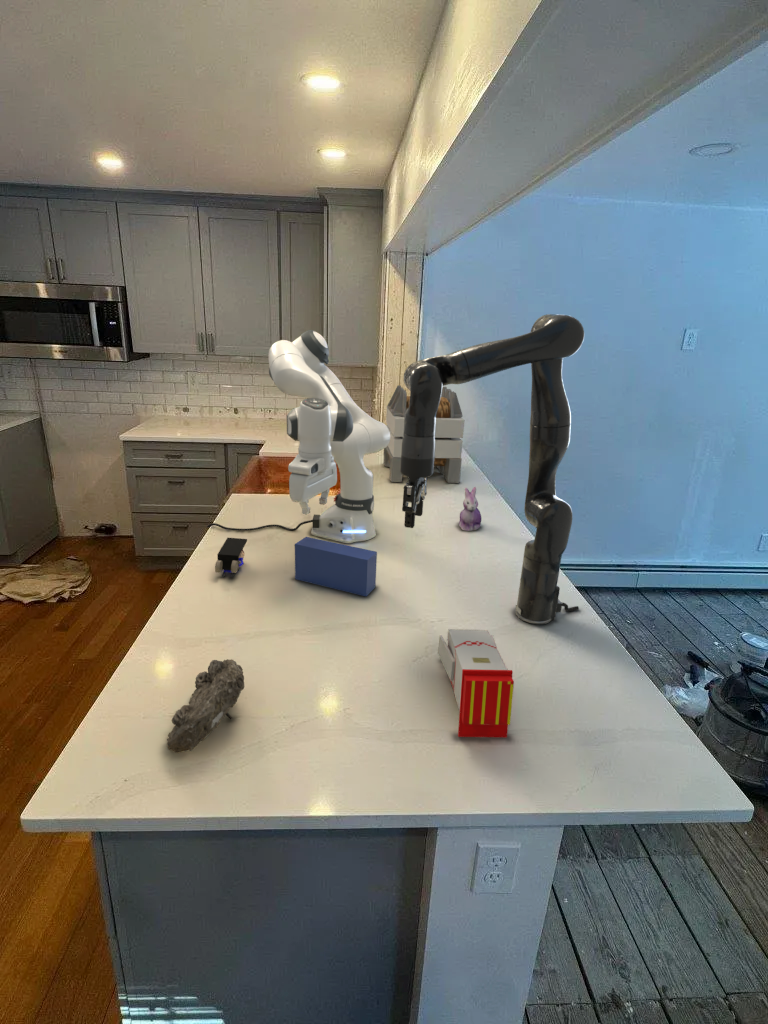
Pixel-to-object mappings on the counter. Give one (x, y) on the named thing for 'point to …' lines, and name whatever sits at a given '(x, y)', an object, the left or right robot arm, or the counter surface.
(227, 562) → the figurine character
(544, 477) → the right robot arm
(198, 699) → the fossil
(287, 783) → the counter surface
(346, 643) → the counter surface
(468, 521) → the figurine
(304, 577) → the box
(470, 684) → the toy
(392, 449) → the grey slatted crate
